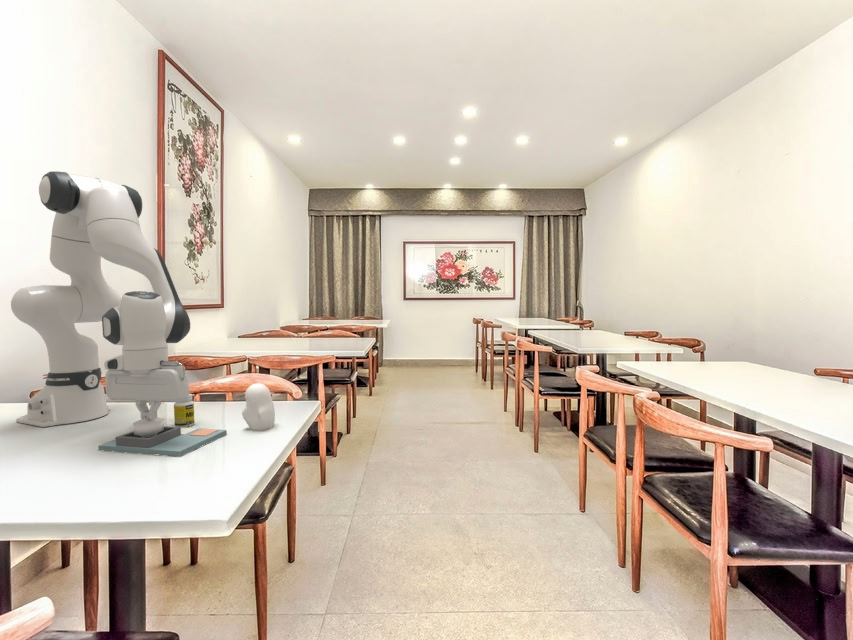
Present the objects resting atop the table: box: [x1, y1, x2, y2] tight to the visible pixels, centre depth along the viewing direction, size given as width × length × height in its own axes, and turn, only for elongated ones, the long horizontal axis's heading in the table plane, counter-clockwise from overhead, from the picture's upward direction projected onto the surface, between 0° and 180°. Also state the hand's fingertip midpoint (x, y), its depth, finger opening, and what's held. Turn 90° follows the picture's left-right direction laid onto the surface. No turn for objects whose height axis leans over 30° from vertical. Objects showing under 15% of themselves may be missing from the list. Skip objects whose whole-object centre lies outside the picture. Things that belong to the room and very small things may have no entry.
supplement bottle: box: [173, 393, 196, 428], centre depth 113 cm, size 5×5×8 cm
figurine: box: [241, 383, 276, 431], centre depth 111 cm, size 7×8×12 cm
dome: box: [132, 417, 165, 438], centre depth 98 cm, size 6×6×4 cm
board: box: [97, 425, 228, 457], centre depth 100 cm, size 22×15×3 cm
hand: (149, 418), depth 98 cm, fingers closed
